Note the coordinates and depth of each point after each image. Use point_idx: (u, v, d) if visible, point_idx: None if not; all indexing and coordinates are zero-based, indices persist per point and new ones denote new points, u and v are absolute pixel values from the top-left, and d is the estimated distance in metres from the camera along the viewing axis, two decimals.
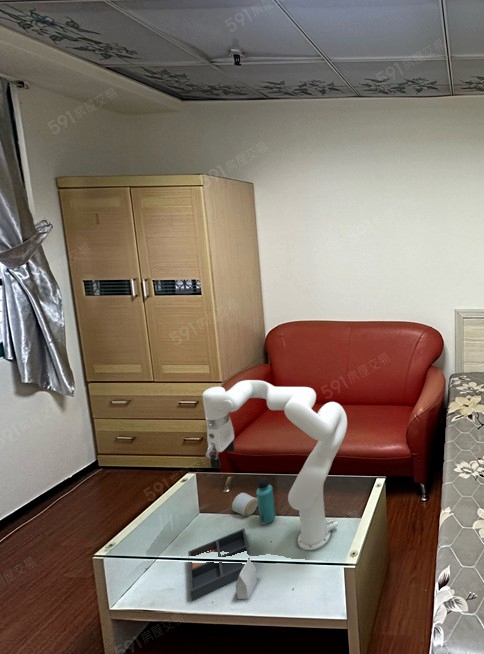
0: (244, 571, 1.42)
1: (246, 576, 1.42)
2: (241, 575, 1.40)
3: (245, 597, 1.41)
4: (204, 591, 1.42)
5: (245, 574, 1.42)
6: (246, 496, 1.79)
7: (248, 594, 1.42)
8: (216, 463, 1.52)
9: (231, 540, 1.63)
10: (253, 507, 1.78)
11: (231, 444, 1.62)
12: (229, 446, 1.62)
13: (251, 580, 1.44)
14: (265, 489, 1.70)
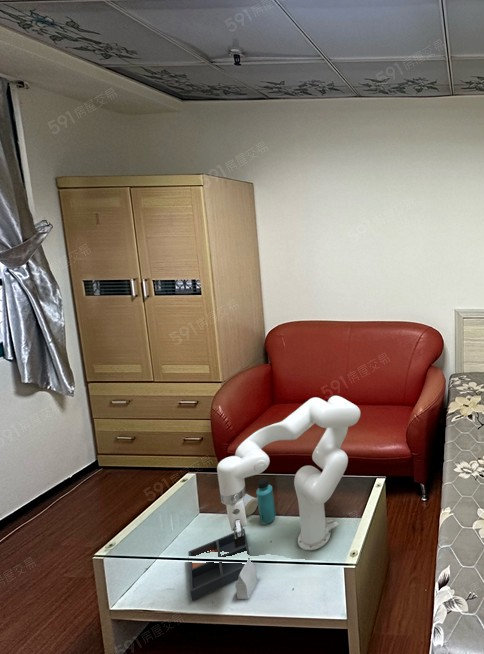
0: (244, 571, 1.42)
1: (246, 576, 1.42)
2: (241, 575, 1.40)
3: (245, 597, 1.41)
4: (204, 591, 1.42)
5: (245, 574, 1.42)
6: (246, 496, 1.79)
7: (248, 594, 1.42)
8: None
9: (231, 540, 1.63)
10: (253, 507, 1.78)
11: None
12: None
13: (251, 580, 1.44)
14: (265, 489, 1.70)
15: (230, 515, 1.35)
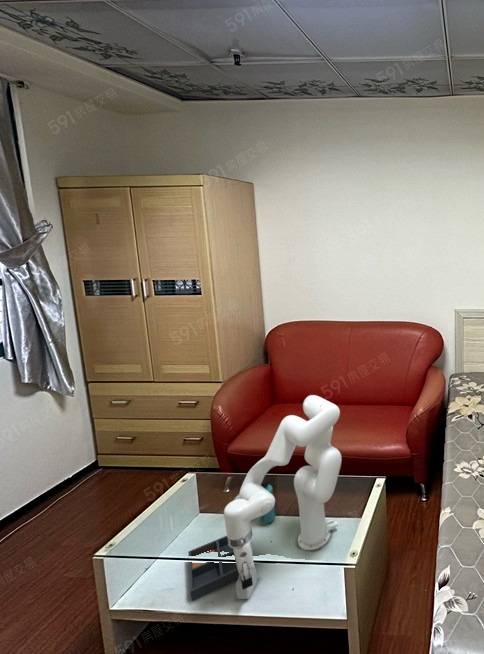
0: None
1: None
2: None
3: (245, 597, 1.41)
4: (204, 591, 1.42)
5: None
6: None
7: (248, 594, 1.42)
8: (249, 581, 1.39)
9: None
10: None
11: None
12: None
13: None
14: None
15: (237, 558, 1.36)
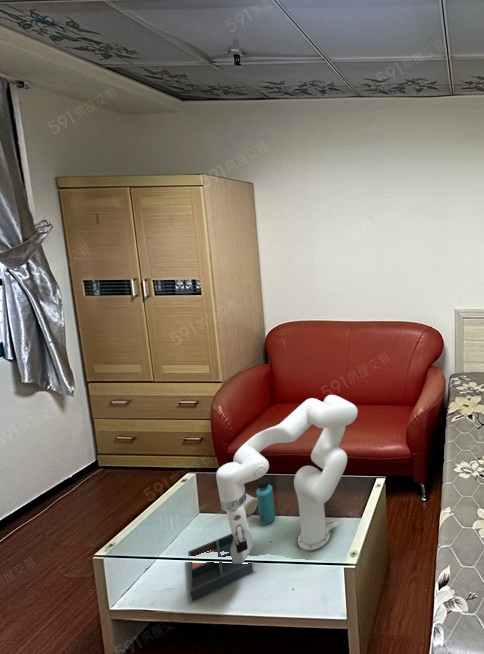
0: None
1: None
2: (235, 539, 1.38)
3: (240, 561, 1.39)
4: (204, 591, 1.42)
5: None
6: (246, 496, 1.79)
7: (243, 558, 1.39)
8: (244, 545, 1.37)
9: (231, 540, 1.63)
10: (253, 507, 1.78)
11: None
12: None
13: None
14: (265, 489, 1.70)
15: (231, 521, 1.34)
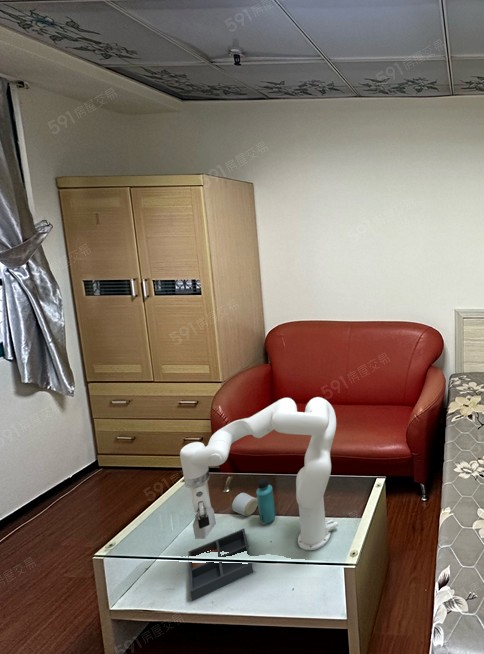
0: None
1: None
2: None
3: (202, 537, 1.47)
4: (204, 591, 1.42)
5: None
6: (246, 496, 1.79)
7: (205, 534, 1.47)
8: (206, 521, 1.45)
9: (231, 540, 1.63)
10: (253, 507, 1.78)
11: None
12: None
13: (209, 521, 1.49)
14: (265, 489, 1.70)
15: (193, 497, 1.42)
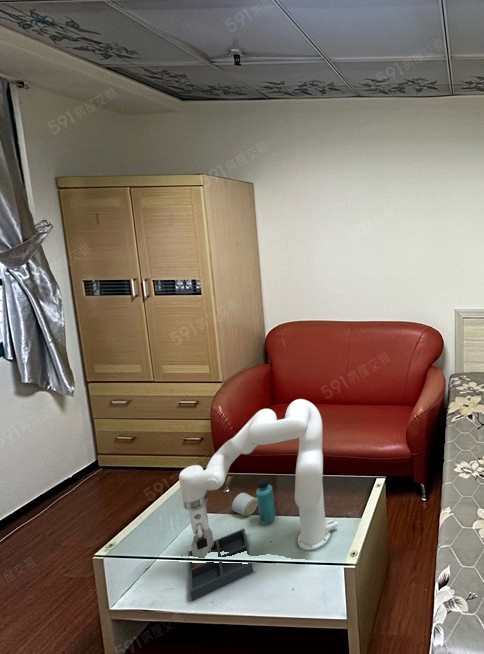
0: None
1: None
2: None
3: (200, 557, 1.50)
4: (204, 591, 1.42)
5: None
6: (246, 496, 1.79)
7: (203, 555, 1.51)
8: (204, 542, 1.49)
9: (231, 540, 1.63)
10: (253, 507, 1.78)
11: None
12: None
13: (207, 542, 1.53)
14: (265, 489, 1.70)
15: (192, 520, 1.45)
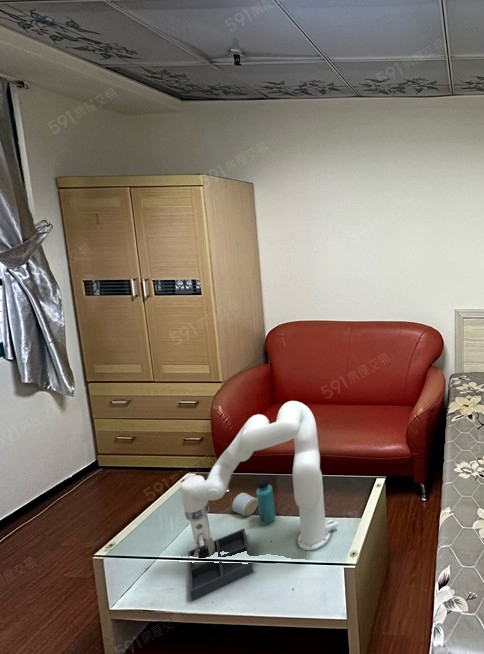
0: None
1: None
2: None
3: None
4: (204, 591, 1.42)
5: None
6: (246, 496, 1.79)
7: None
8: (206, 552, 1.49)
9: (231, 540, 1.63)
10: (253, 507, 1.78)
11: None
12: None
13: (209, 552, 1.54)
14: (265, 489, 1.70)
15: (193, 530, 1.46)
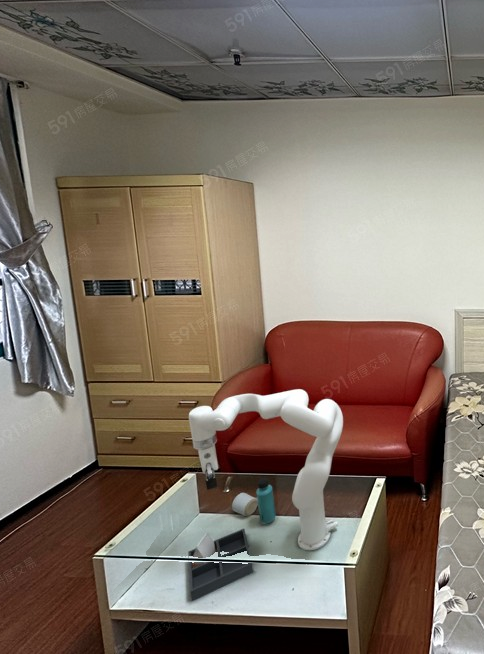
0: (201, 544, 1.52)
1: (203, 548, 1.52)
2: (198, 547, 1.50)
3: None
4: (204, 591, 1.42)
5: (203, 547, 1.52)
6: (246, 496, 1.79)
7: None
8: (213, 482, 1.49)
9: (231, 540, 1.63)
10: (253, 507, 1.78)
11: None
12: None
13: (209, 552, 1.54)
14: (265, 489, 1.70)
15: (201, 459, 1.46)
